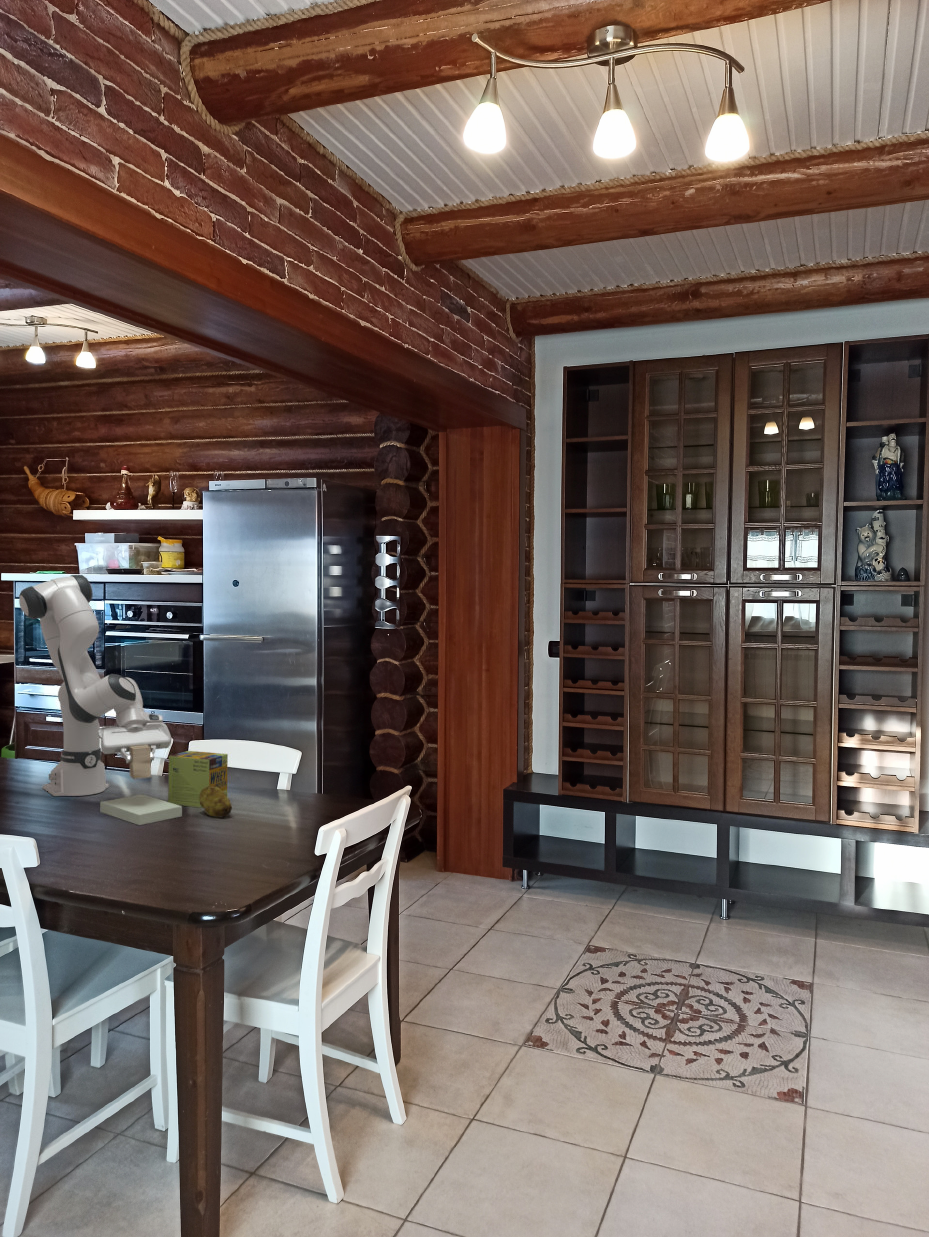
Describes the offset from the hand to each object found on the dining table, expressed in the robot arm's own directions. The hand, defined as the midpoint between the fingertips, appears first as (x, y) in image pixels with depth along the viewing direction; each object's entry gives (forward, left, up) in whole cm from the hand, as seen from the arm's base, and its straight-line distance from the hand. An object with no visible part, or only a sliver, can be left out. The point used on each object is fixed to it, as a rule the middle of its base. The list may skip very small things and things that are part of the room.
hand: (140, 760), depth 273 cm
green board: (-1, +1, -16) cm, 16 cm away
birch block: (-1, 0, -5) cm, 5 cm away
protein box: (-1, +21, -17) cm, 27 cm away
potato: (+15, +16, -17) cm, 28 cm away
